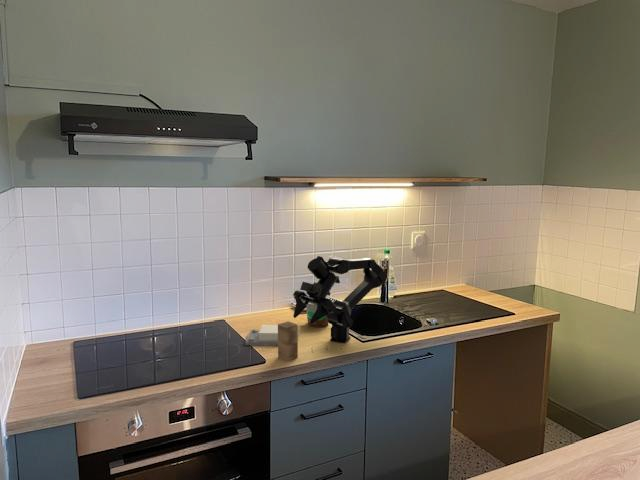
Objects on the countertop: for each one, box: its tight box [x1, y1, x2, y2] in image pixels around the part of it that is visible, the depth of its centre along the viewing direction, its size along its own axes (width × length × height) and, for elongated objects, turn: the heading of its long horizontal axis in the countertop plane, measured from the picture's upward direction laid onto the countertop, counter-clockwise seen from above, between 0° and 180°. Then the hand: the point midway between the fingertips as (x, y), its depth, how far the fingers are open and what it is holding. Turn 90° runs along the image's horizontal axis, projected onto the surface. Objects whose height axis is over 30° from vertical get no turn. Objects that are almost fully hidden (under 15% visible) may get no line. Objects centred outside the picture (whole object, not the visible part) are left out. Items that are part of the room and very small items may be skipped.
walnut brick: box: [277, 320, 299, 362], centre depth 179 cm, size 5×5×12 cm
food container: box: [305, 302, 330, 328], centre depth 215 cm, size 12×6×10 cm, turn 62°
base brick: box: [244, 324, 300, 346], centre depth 199 cm, size 20×14×4 cm
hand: (302, 320), depth 183 cm, fingers open, 9 cm apart
